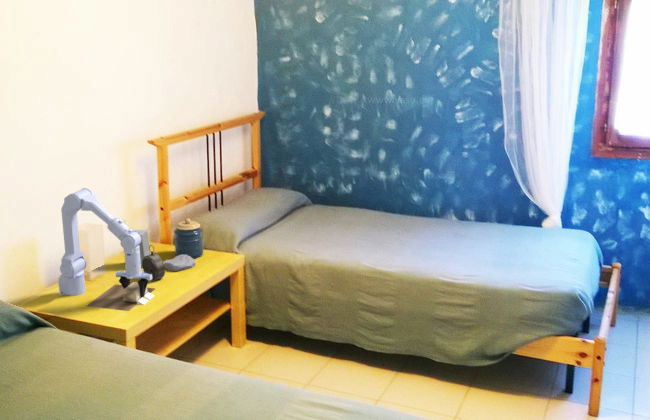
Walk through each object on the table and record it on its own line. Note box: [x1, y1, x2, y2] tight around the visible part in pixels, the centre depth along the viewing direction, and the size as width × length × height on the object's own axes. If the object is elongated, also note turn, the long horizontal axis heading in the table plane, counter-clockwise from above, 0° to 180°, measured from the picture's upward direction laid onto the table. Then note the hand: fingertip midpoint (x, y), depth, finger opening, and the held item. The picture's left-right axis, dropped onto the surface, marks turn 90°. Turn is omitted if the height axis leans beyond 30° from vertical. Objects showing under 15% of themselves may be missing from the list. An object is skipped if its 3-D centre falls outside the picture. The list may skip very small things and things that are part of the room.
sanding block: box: [122, 281, 148, 302], centre depth 269 cm, size 6×9×4 cm, turn 167°
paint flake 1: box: [137, 297, 150, 306], centre depth 267 cm, size 4×4×1 cm
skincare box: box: [134, 229, 151, 268], centre depth 307 cm, size 8×7×16 cm
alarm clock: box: [141, 244, 166, 281], centre depth 288 cm, size 11×5×16 cm, turn 47°
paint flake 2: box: [143, 292, 156, 301], centre depth 271 cm, size 4×4×1 cm
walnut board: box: [85, 283, 156, 312], centre depth 272 cm, size 18×22×2 cm
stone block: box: [163, 254, 197, 272], centre depth 307 cm, size 12×5×10 cm
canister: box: [173, 217, 204, 260], centre depth 320 cm, size 13×13×18 cm
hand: (135, 295), depth 270 cm, fingers closed on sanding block, 5 cm apart
